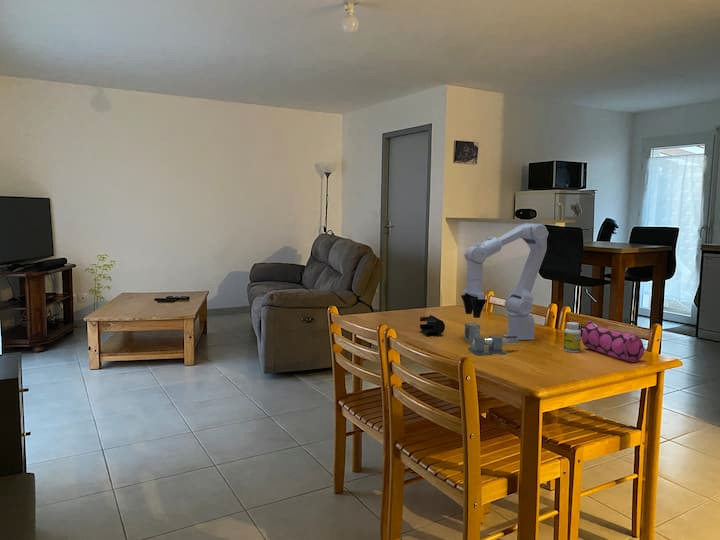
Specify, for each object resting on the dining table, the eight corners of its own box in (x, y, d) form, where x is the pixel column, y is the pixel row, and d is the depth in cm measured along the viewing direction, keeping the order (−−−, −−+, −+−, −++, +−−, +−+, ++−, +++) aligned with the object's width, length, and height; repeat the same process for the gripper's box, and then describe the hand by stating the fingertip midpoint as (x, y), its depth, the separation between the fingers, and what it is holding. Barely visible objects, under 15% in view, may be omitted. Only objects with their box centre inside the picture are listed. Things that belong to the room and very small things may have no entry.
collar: (474, 339, 205) (474, 322, 205) (479, 342, 200) (480, 325, 200) (464, 339, 205) (464, 323, 204) (469, 342, 200) (469, 325, 199)
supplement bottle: (559, 349, 191) (561, 322, 190) (572, 348, 193) (573, 321, 192) (571, 353, 186) (572, 325, 185) (583, 352, 188) (585, 324, 187)
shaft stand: (511, 347, 193) (512, 333, 192) (522, 353, 185) (522, 338, 184) (468, 349, 190) (468, 334, 189) (477, 355, 182) (477, 340, 181)
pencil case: (576, 349, 192) (577, 321, 191) (597, 346, 196) (598, 319, 195) (625, 364, 173) (627, 333, 171) (648, 362, 176) (649, 331, 175)
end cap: (445, 336, 210) (445, 319, 209) (427, 337, 209) (427, 319, 208) (436, 330, 220) (436, 314, 219) (419, 331, 218) (419, 315, 218)
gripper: (456, 277, 207) (455, 312, 208) (471, 281, 192) (469, 319, 194) (474, 277, 208) (472, 312, 209) (490, 281, 194) (488, 319, 195)
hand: (472, 315), depth 202 cm, fingers open, 7 cm apart
